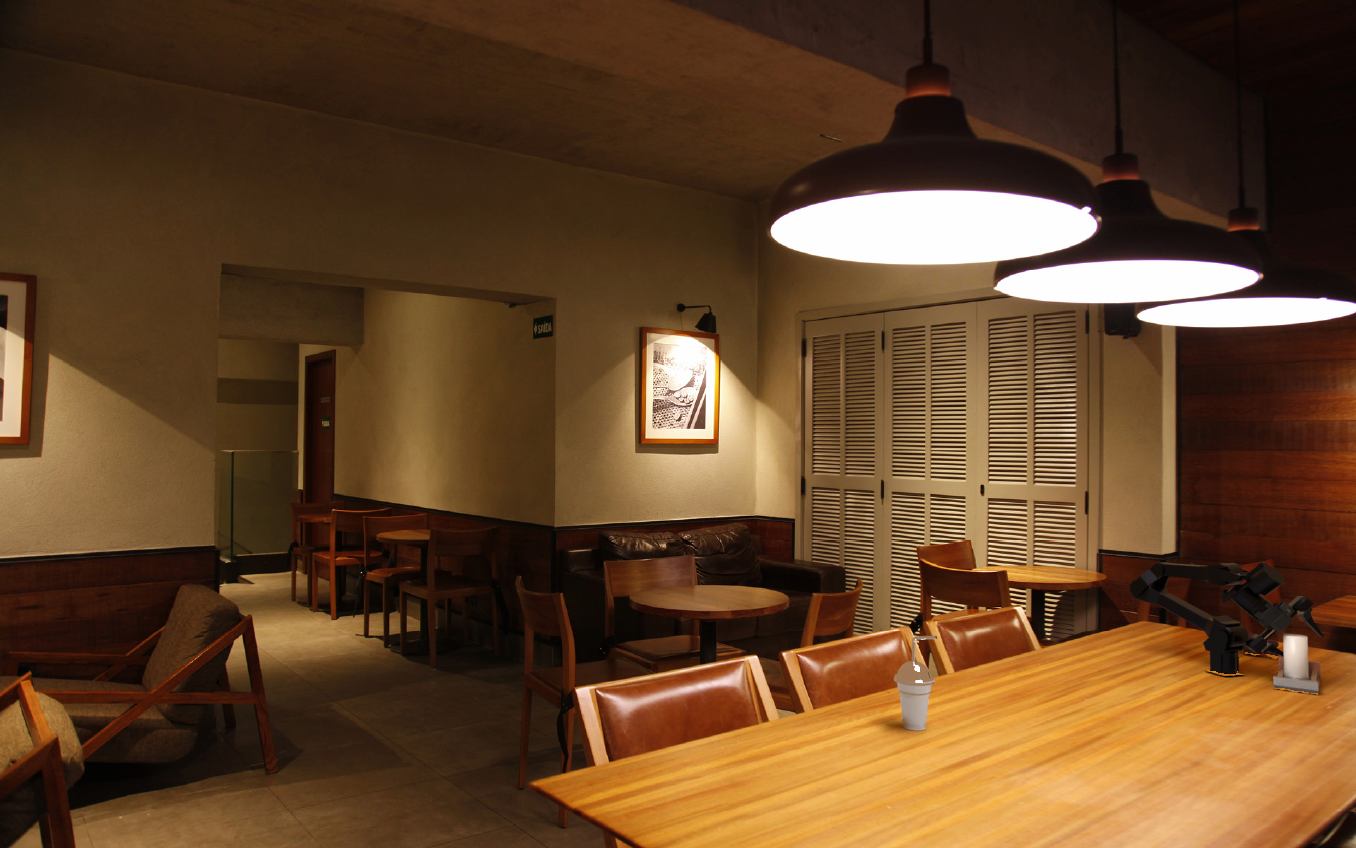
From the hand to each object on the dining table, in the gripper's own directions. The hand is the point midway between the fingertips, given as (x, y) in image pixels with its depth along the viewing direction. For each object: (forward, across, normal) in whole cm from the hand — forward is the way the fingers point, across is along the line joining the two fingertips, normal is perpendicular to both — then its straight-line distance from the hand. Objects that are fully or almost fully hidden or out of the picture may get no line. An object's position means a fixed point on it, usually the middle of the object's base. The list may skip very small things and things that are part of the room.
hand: (1309, 649), depth 220 cm
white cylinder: (+3, -9, -4) cm, 10 cm away
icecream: (0, -8, +36) cm, 37 cm away
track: (+4, -8, +2) cm, 9 cm away
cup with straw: (-53, -73, -75) cm, 117 cm away
